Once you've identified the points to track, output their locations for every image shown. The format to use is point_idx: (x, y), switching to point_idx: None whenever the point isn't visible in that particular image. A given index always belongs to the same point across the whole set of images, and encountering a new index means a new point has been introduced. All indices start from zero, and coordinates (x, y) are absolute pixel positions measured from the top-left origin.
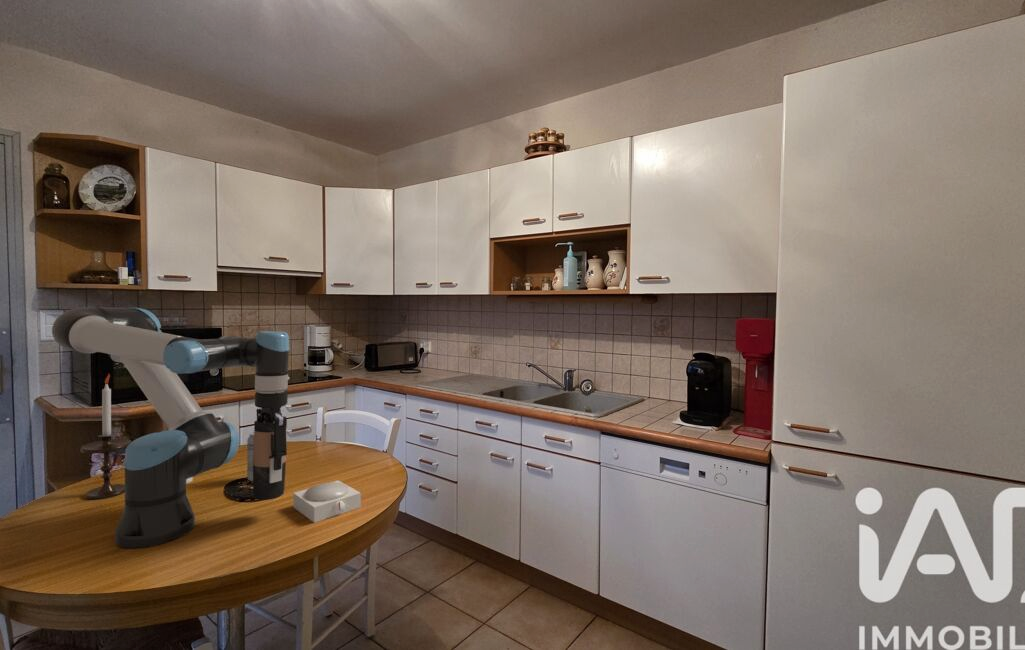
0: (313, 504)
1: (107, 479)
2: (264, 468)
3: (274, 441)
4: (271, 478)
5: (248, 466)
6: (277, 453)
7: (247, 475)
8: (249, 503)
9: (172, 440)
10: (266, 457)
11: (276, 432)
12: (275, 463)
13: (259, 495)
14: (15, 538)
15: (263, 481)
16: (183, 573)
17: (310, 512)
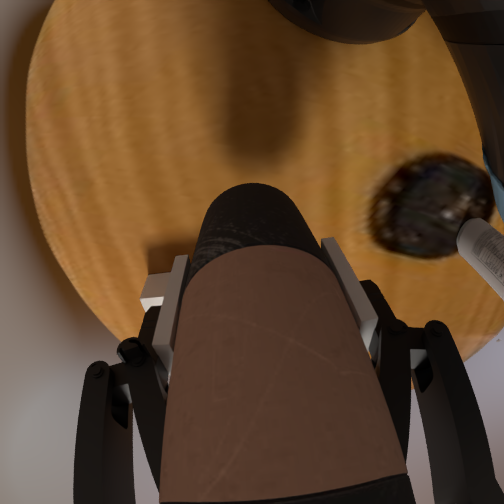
0: (159, 301)
1: None
2: (190, 278)
3: (98, 444)
4: (172, 271)
5: (495, 233)
6: (86, 382)
7: (484, 221)
8: (372, 181)
9: None
10: (178, 331)
11: (76, 498)
12: (140, 333)
13: (217, 200)
14: None
15: (201, 238)
16: (69, 21)
17: (164, 283)
